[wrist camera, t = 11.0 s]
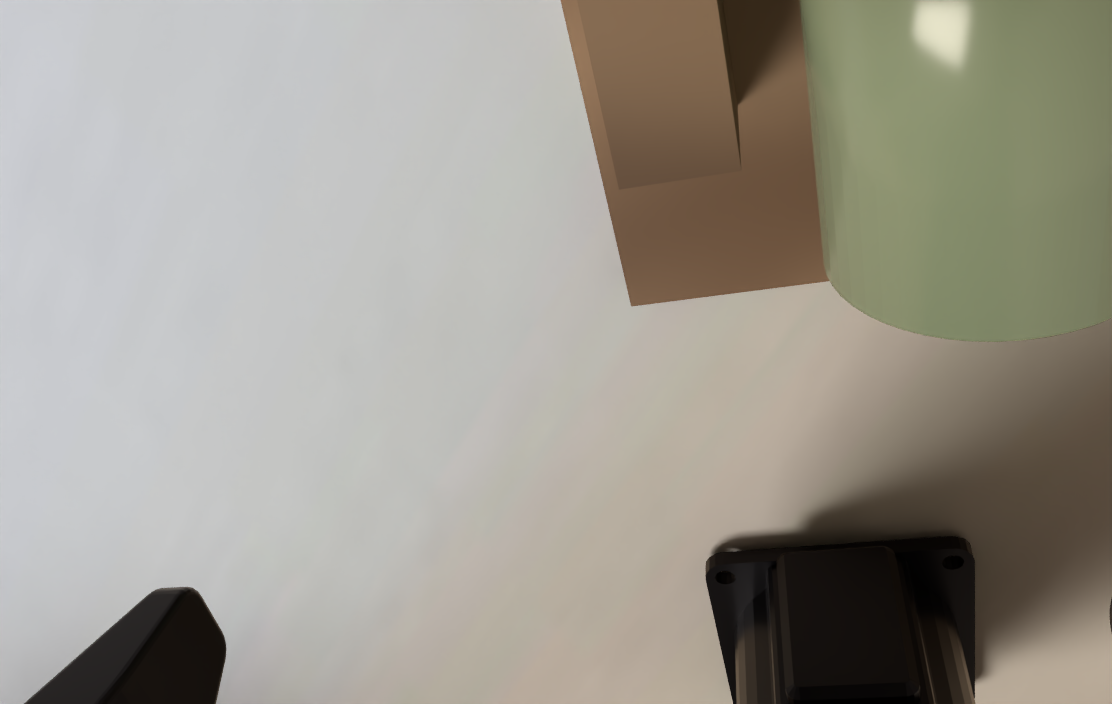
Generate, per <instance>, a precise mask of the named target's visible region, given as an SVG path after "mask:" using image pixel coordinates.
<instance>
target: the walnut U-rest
mask: <svg viewBox="0 0 1112 704" xmlns="http://www.w3.org/2000/svg"><path fill="white" fill-rule="evenodd" d="M561 4H562V8H563V12H564V17H565V21H566V25H567V30H568V34H569V38H570V43H571V47H572V51H573V56H574V60H575V64H576V69H577V73H578V77H579V82H580V86H581V90H582V95H583V99H584V103H585V108H586V112H587V116H588V121H589V125H590V129H591V134H592V138H593V142H594V147H595V151H596V155H597V160H598V164H599V168H600V173H601V177H602V181H603V186H604V190H605V194H606V199H607V203H608V207H609V212H610V216H611V220H612V225H613V229H614V233H615V238H616V242H617V246H618V251H619V255H620V259H621V264H622V268H623V272H624V277H625V281H626V285H627V290H628V294H629V298H630V303H631V306H638V305H646V304H653V303H661V302H669V301H677V300H685V299H692V298H700V297H708V296H716V295H724V294H731V293H739V292H747V291H755V290H763V289H770V288H778V287H786V286H794V285H802V284H809V283H817V282H825V281H829V279H828V277H827V275H826V271H825V267H824V262H823V252H822V241H821V230H820V219H819V208H818V197H817V186H816V176H815V165H814V154H813V143H812V132H811V121H810V111H809V100H808V89H807V78H806V67H805V56H804V45H803V35H802V24H801V13H800V2H799V0H561Z"/></svg>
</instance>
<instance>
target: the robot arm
mask: <svg viewBox="0 0 1112 704" xmlns="http://www.w3.org/2000/svg"><path fill="white" fill-rule="evenodd" d="M952 555H955V556H953V557H948V556H952ZM722 571H729V572H722ZM706 583H707V587H708V592H709V596H710V601H711V605H712V610H713V614H714V619H715V623H716V628H717V632H718V637H719V641H720V646H721V650H722V655H723V659H724V664H725V668H726V673H727V677H728V682H729V686H730V691H731V696H732V700H733V704H975V700H974V698H975V560H974V557H973V553H972V549H971V546H970V543H969V542H968V541H966V540H965V539H963V538H960V537H956V536H945V537H931V538H917V539H903V540H889V541H875V542H861V543H848V544H834V545H820V546H806V547H792V548H778V549H764V550H750V551H737V552H723V553H718V554H714V555H713V556H711V557H709V559H708V560H707V561H706ZM1110 625H1111V632H1112V599H1111V605H1110ZM225 658H226V642H225V638H224V635H223V633H222V631H221V629H220V627H219V626H218V624H217V622H216V620H215V619H214V617H213V615H212V614H211V612H210V610H209V608H208V607H207V605H206V603H205V602H204V600H203V598H202V596H201V595H200V594H199V592H198V591H196V590H195V589H193V588H191V587H174V588H160V589H157V590H155V591H153V592H151V593H150V594H149V595H147V596H146V597H145V598H144V599H143V600H142V601H140V602H139V603H138V604H137V605H136V606H135V607H134V608H132V609H131V610H130V611H129V612H128V613H127V614H126V615H125V616H123V617H122V618H121V619H120V620H119V621H118V622H117V623H115V624H114V625H113V626H112V627H111V628H110V629H109V630H107V631H106V632H105V633H104V634H103V635H102V636H101V637H99V638H98V639H97V640H96V641H95V642H94V643H93V644H91V645H90V646H89V647H88V648H87V649H86V650H85V651H83V652H82V653H81V654H80V655H79V656H78V657H77V658H76V659H74V660H73V661H72V662H71V663H70V664H69V665H68V666H66V667H65V668H64V669H63V670H62V671H61V672H60V673H58V674H57V675H56V676H55V677H54V678H53V679H52V680H50V681H49V682H48V683H47V684H46V685H45V686H44V687H42V688H41V689H40V690H39V691H38V692H37V693H36V694H34V695H33V696H32V697H31V698H30V699H29V700H28V701H27V702H25V703H24V704H216V700H217V695H218V691H219V686H220V682H221V677H222V673H223V668H224V663H225Z"/></svg>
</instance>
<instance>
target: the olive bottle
mask: <svg viewBox="0 0 1112 704" xmlns="http://www.w3.org/2000/svg"><path fill="white" fill-rule="evenodd" d="M799 2H800V13H801V24H802V35H803V45H804V56H805V67H806V78H807V89H808V100H809V111H810V121H811V132H812V143H813V154H814V165H815V176H816V186H817V197H818V208H819V219H820V230H821V241H822V252H823V262H824V267H825V271H826V275H827V277H828V279H829V281H830V282H831V284H832V286H833V287H834V288H835V290H836V291H837V292H838V293H839V294H840V296H841V297H843V298H844V299H845V300H846V301H847V302H848V303H850V304H851V305H852V306H853V307H855V308H857V309H858V310H860V311H861V312H863V313H864V314H866V315H868V316H870V317H872V318H874V319H876V320H878V321H880V322H883V323H885V324H888V325H891V326H894V327H896V328H899V329H902V330H906V331H910V332H913V333H917V334H921V335H926V336H932V337H938V338H944V339H951V340H962V341H979V342H1003V341H1020V340H1029V339H1037V338H1044V337H1051V336H1055V335H1060V334H1065V333H1069V332H1074V331H1077V330H1080V329H1083V328H1087V327H1090V326H1093V325H1096V324H1099V323H1101V322H1104V321H1106V320H1108V319H1111V318H1112V0H799Z"/></svg>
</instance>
